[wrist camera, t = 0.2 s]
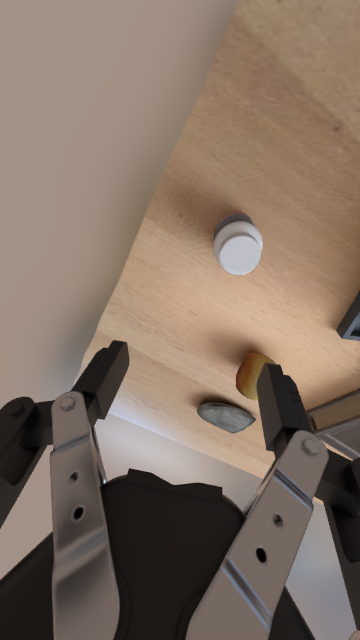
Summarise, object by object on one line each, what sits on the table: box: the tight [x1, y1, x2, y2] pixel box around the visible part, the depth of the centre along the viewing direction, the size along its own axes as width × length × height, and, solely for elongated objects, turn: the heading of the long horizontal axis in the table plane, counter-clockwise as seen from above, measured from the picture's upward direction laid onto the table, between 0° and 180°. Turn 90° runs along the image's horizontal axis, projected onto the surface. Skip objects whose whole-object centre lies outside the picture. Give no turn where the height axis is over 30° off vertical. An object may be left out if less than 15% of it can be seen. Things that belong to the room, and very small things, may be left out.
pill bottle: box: [213, 212, 263, 275], centre depth 24 cm, size 5×5×9 cm
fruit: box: [236, 352, 275, 400], centre depth 37 cm, size 8×8×8 cm
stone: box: [197, 402, 256, 433], centre depth 50 cm, size 13×9×3 cm
